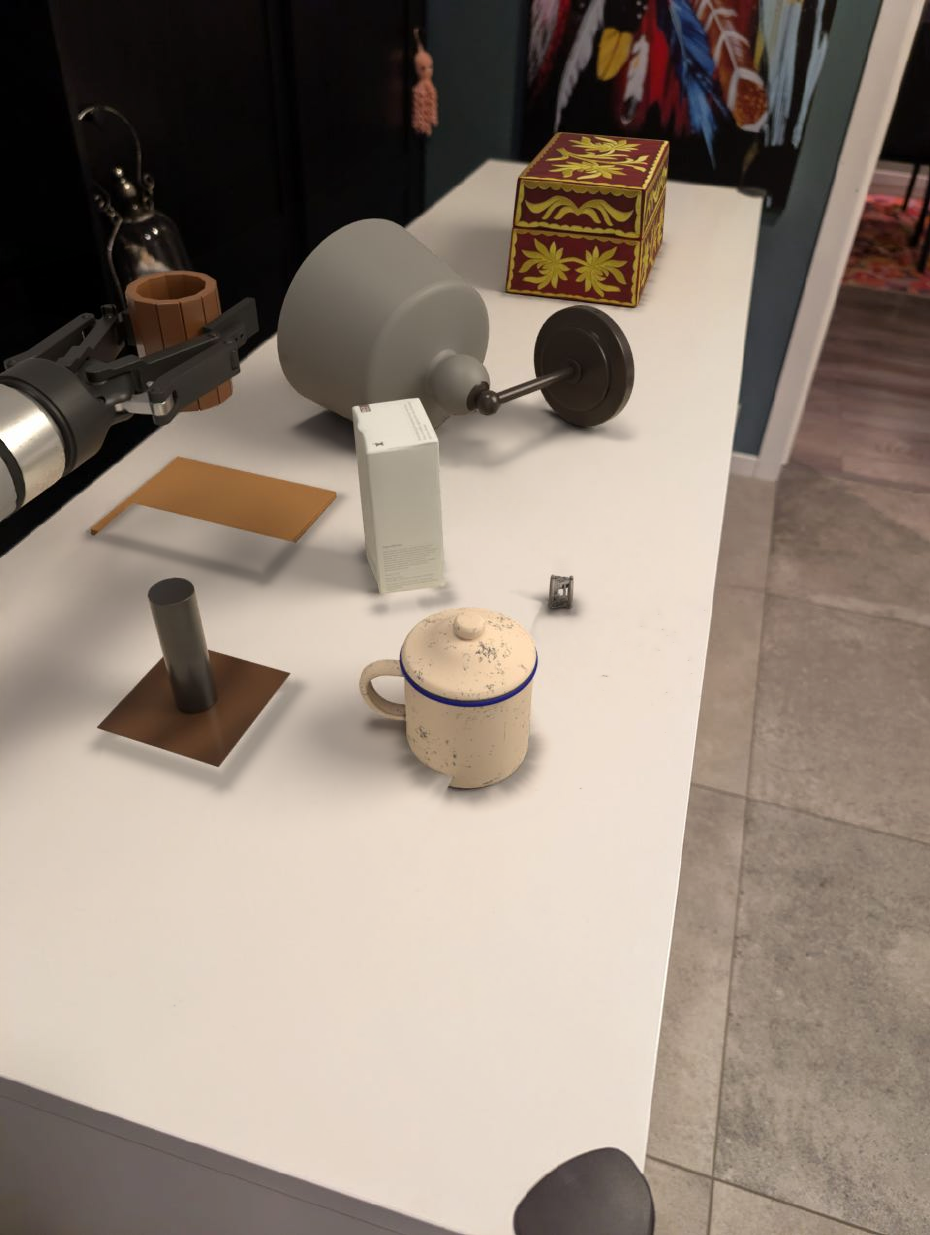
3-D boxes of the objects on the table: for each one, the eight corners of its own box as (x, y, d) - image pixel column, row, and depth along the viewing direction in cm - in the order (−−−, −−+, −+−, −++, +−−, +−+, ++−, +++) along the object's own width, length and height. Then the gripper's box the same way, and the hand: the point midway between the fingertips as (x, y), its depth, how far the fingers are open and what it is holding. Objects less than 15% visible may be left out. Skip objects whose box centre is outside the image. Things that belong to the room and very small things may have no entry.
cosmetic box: (446, 598, 81) (445, 443, 72) (376, 609, 80) (365, 452, 71) (426, 542, 87) (423, 393, 78) (361, 551, 86) (349, 400, 77)
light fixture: (276, 233, 89) (477, 360, 77) (467, 197, 104) (661, 298, 92) (271, 422, 103) (442, 555, 91) (441, 366, 118) (607, 474, 106)
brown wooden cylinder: (132, 403, 78) (106, 295, 73) (180, 369, 83) (159, 265, 78) (203, 418, 77) (183, 309, 71) (248, 383, 82) (232, 277, 76)
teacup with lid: (534, 704, 72) (543, 580, 64) (527, 799, 65) (537, 673, 57) (375, 691, 72) (366, 568, 65) (352, 784, 66) (339, 658, 58)
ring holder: (100, 742, 68) (58, 618, 61) (180, 654, 76) (151, 534, 68) (222, 781, 66) (193, 657, 58) (293, 687, 73) (275, 565, 65)
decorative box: (546, 230, 154) (552, 128, 144) (662, 242, 150) (677, 138, 141) (504, 292, 134) (508, 178, 124) (637, 308, 130) (652, 191, 120)
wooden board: (91, 534, 88) (89, 528, 88) (178, 461, 98) (177, 456, 98) (263, 578, 83) (262, 572, 83) (336, 496, 93) (336, 491, 93)
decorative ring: (570, 616, 80) (573, 588, 78) (548, 614, 80) (550, 586, 78) (571, 595, 82) (574, 567, 80) (548, 593, 82) (551, 565, 80)
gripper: (-73, 453, 69) (125, 331, 85) (159, 510, 63) (323, 368, 80) (-113, 355, 64) (105, 245, 80) (135, 407, 58) (314, 279, 75)
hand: (213, 307), depth 80 cm, fingers closed on brown wooden cylinder, 7 cm apart
